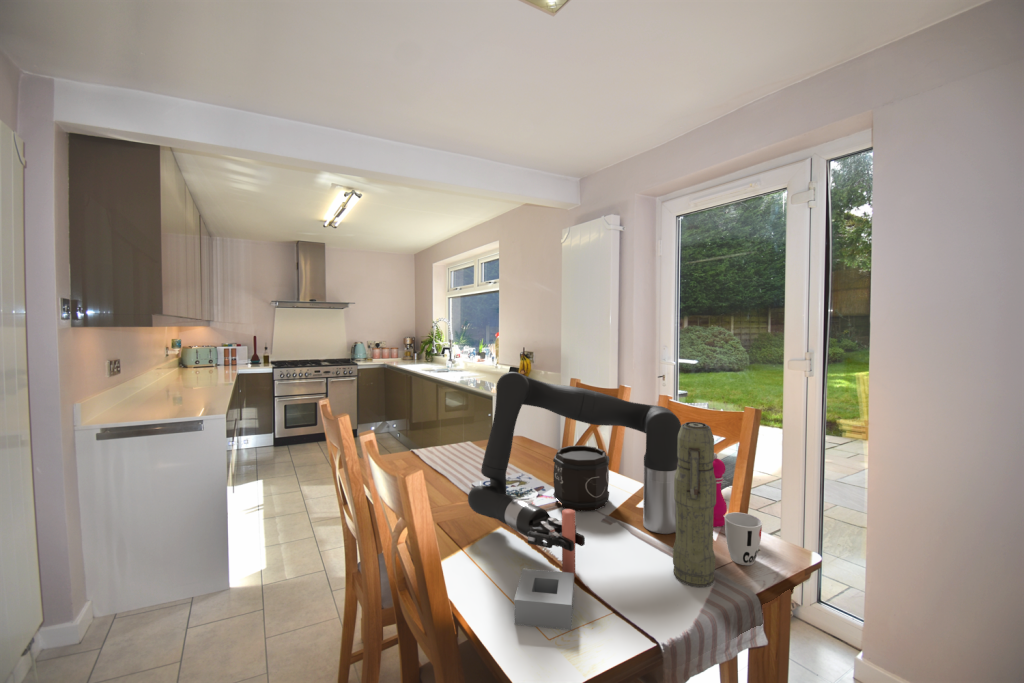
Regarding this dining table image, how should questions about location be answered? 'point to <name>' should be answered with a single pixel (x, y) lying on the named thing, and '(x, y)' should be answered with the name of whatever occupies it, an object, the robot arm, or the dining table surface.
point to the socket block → (545, 599)
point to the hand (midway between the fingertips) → (578, 543)
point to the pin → (569, 533)
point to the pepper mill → (719, 494)
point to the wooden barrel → (581, 477)
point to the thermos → (694, 506)
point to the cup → (743, 537)
